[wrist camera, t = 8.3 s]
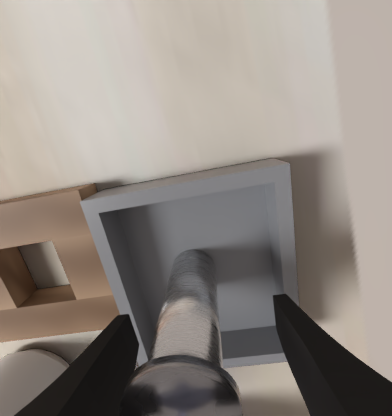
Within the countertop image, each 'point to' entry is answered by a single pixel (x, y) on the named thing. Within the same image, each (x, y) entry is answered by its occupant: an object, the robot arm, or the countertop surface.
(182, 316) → the pin
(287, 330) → the robot arm
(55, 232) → the hitch block
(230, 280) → the tray
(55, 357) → the can
